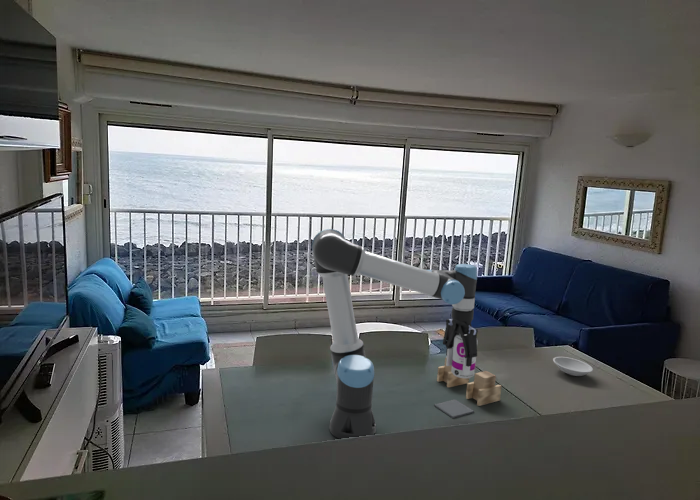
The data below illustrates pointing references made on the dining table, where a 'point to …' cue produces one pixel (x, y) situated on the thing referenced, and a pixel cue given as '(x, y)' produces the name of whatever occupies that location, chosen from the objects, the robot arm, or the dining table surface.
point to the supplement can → (460, 359)
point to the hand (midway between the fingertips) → (457, 369)
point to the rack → (473, 385)
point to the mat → (454, 408)
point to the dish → (572, 366)
